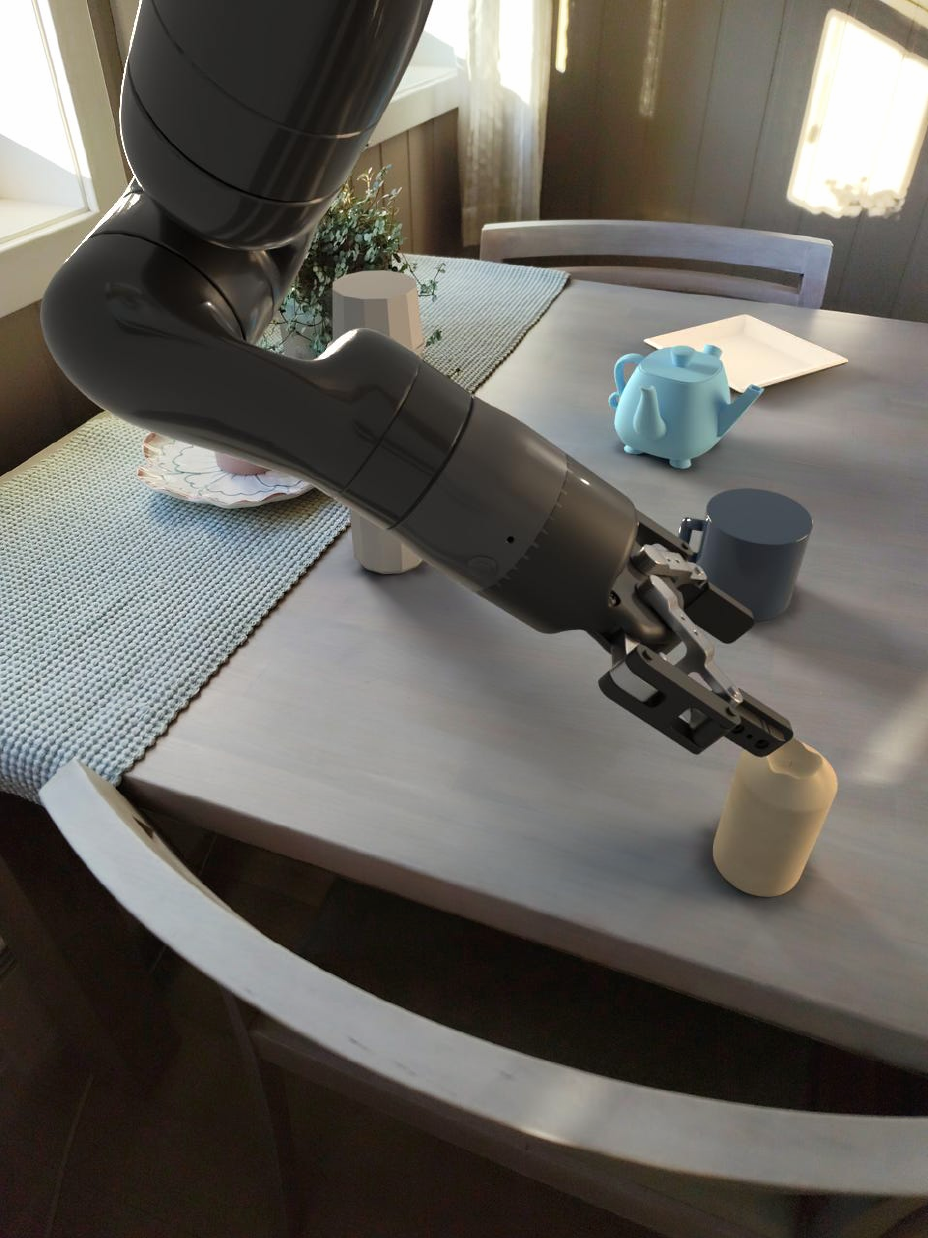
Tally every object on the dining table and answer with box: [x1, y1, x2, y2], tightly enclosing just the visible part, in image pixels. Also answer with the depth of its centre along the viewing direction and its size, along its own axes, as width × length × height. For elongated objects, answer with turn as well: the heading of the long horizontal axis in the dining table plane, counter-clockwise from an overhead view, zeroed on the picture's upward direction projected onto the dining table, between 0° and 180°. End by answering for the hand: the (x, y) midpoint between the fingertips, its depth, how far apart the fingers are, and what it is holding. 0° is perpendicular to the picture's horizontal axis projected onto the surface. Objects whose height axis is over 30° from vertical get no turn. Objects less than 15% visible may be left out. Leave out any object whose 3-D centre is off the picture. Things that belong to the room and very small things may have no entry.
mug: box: [677, 487, 814, 623], centre depth 75 cm, size 10×9×8 cm
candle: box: [712, 736, 839, 898], centre depth 52 cm, size 6×6×10 cm
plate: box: [643, 314, 849, 395], centre depth 114 cm, size 19×19×2 cm
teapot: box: [608, 345, 765, 469], centre depth 94 cm, size 15×14×11 cm
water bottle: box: [325, 269, 427, 575], centre depth 74 cm, size 9×8×25 cm
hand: (758, 681), depth 44 cm, fingers open, 8 cm apart
